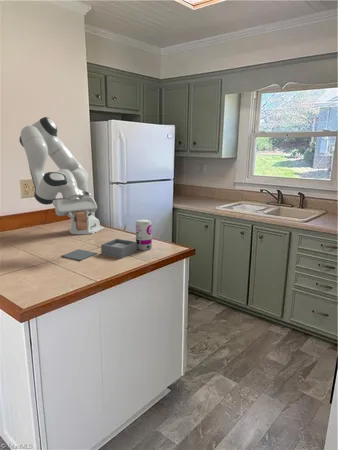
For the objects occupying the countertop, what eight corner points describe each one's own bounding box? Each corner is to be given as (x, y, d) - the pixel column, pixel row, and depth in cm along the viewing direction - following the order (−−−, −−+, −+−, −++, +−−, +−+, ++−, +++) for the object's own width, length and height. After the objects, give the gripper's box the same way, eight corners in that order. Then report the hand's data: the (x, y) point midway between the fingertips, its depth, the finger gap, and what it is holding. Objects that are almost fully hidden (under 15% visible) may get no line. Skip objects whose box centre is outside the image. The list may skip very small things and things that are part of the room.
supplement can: (154, 247, 178) (154, 219, 175) (146, 251, 171) (146, 223, 167) (141, 245, 181) (140, 218, 178) (133, 249, 174) (132, 221, 171)
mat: (78, 250, 171) (78, 249, 171) (96, 253, 166) (96, 252, 166) (61, 256, 161) (61, 255, 161) (80, 260, 156) (80, 259, 155)
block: (76, 228, 162) (74, 212, 160) (85, 227, 164) (83, 211, 162) (78, 230, 158) (76, 214, 156) (87, 229, 160) (86, 213, 158)
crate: (116, 248, 176) (116, 238, 175) (136, 252, 171) (136, 241, 169) (101, 255, 166) (101, 244, 164) (122, 259, 160) (121, 248, 158)
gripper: (52, 194, 157) (60, 218, 152) (93, 192, 169) (102, 214, 163) (50, 202, 162) (58, 226, 156) (90, 199, 173) (98, 221, 168)
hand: (80, 220), depth 160 cm, fingers closed on block, 5 cm apart
